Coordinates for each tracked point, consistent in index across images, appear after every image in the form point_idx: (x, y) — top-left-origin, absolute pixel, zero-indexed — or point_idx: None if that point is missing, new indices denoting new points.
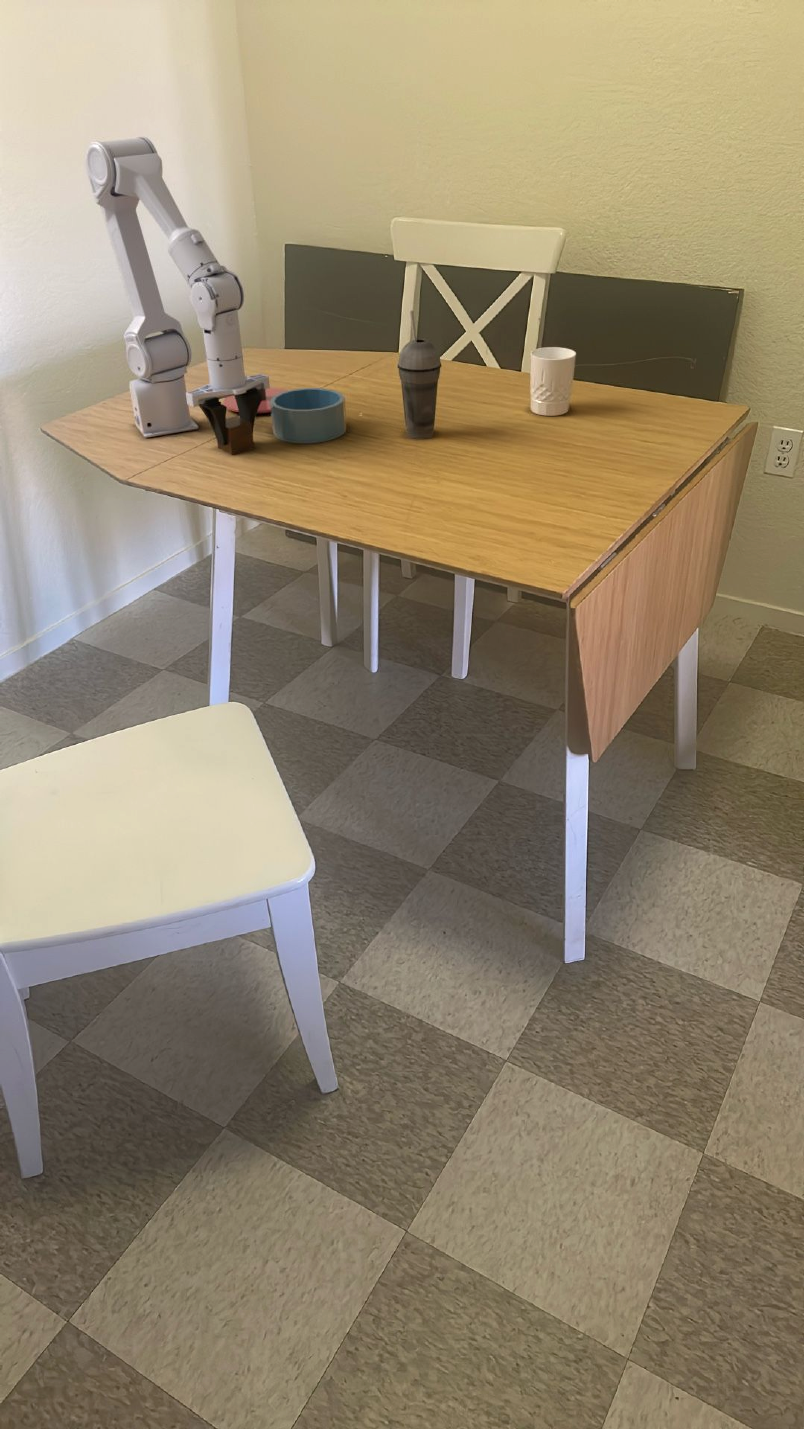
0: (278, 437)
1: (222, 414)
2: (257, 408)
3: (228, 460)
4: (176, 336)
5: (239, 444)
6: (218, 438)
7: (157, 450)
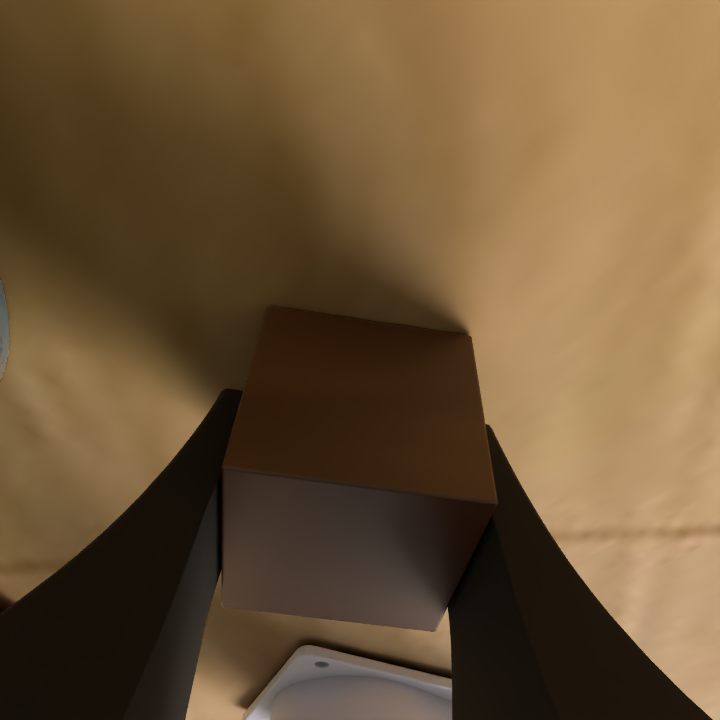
0: (1, 308)
1: (586, 672)
2: (69, 574)
3: (580, 279)
4: None
5: (396, 365)
6: None
7: (619, 616)
